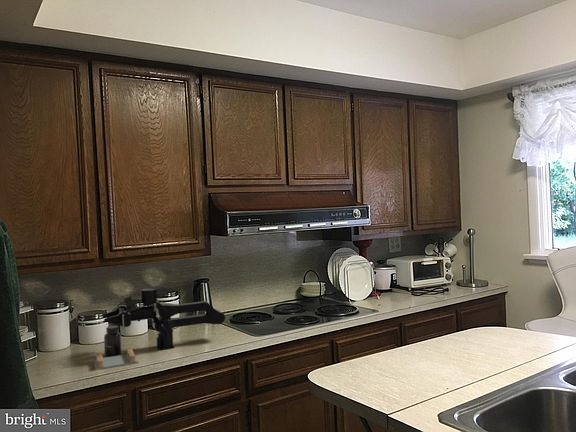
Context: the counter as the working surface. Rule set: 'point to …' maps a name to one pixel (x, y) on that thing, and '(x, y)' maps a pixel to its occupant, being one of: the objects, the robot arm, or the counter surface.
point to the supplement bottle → (112, 342)
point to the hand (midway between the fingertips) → (103, 317)
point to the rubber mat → (115, 361)
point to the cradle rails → (128, 350)
